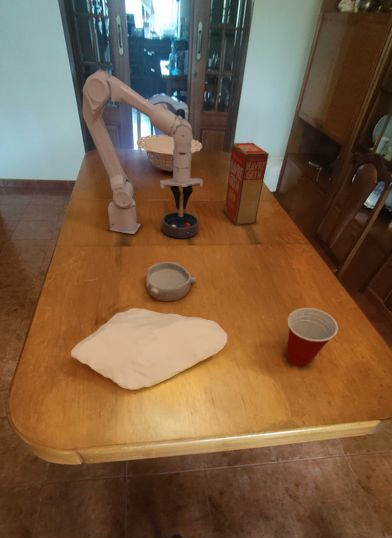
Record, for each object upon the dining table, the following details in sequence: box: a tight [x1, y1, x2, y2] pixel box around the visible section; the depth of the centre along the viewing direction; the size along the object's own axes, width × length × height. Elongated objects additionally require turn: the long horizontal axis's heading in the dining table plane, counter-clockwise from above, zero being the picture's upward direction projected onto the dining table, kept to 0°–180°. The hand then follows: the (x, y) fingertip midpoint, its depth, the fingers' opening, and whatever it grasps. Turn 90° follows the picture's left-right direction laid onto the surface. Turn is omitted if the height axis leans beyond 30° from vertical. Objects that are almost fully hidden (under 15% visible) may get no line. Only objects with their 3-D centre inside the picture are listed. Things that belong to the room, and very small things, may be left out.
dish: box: [145, 261, 197, 302], centre depth 93 cm, size 14×14×5 cm
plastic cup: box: [285, 307, 339, 368], centre depth 74 cm, size 11×11×12 cm
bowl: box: [161, 211, 200, 239], centre depth 118 cm, size 13×13×4 cm
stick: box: [177, 191, 184, 217], centre depth 112 cm, size 2×2×8 cm
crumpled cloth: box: [70, 307, 229, 391], centre depth 73 cm, size 24×35×9 cm
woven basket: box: [136, 134, 203, 173], centre depth 157 cm, size 32×32×13 cm
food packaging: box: [223, 142, 270, 226], centre depth 122 cm, size 13×9×25 cm
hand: (180, 207), depth 113 cm, fingers closed on stick, 2 cm apart
